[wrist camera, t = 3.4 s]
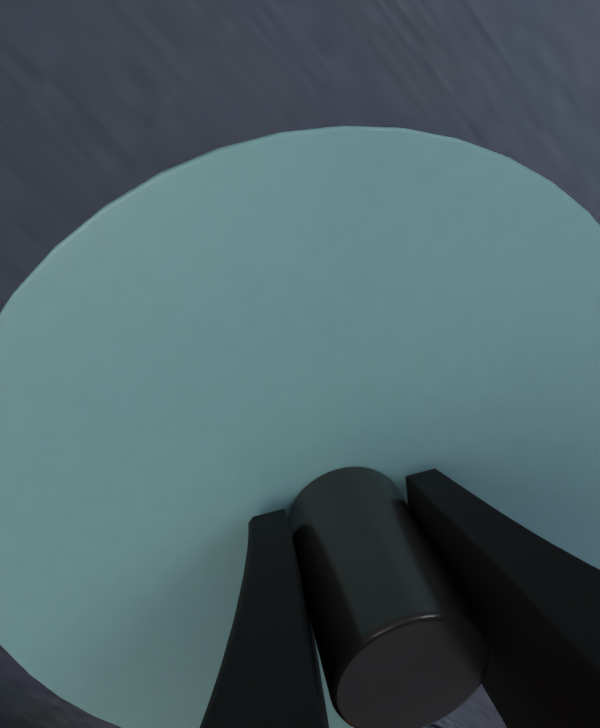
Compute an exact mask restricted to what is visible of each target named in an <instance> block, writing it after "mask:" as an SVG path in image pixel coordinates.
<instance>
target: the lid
mask: <svg viewBox="0 0 600 728" xmlns="http://www.w3.org/2000/svg"><path fill="white" fill-rule="evenodd" d="M434 468H435V469H437V470H438V471H440V472H441V473H443V474H444V475H446V476H447V477H449V478H450V479H452V480H453V481H455V482H456V483H458V484H459V485H461V486H462V487H464V488H465V489H467V490H468V491H470V492H471V493H472V494H474V495H475V496H477V497H478V498H480V499H481V500H483V501H484V502H486V503H487V504H489V505H491V506H492V507H494V508H495V509H497V510H498V511H500V512H501V513H503V514H504V515H506V516H508V517H509V518H511V519H512V520H514V521H516V522H517V523H519V524H520V525H522V526H524V527H525V528H527V529H528V530H530V531H532V532H533V533H535V534H537V535H538V536H540V537H542V538H543V539H545V540H547V541H548V542H550V543H552V544H554V545H555V546H557V547H559V548H561V549H563V550H564V551H566V552H568V553H570V554H572V555H573V556H575V557H577V558H579V559H581V560H582V561H584V562H586V563H588V564H590V565H592V566H594V567H596V568H598V569H600V225H599V224H598V223H597V222H596V221H595V219H594V218H593V217H592V216H591V215H590V214H589V212H588V211H587V210H586V209H584V208H583V207H582V206H581V205H579V204H578V203H577V202H576V201H575V200H573V199H572V198H571V197H570V196H568V195H567V194H566V193H565V192H564V191H562V190H561V189H560V188H559V187H557V186H556V185H555V184H554V183H553V182H551V181H550V180H548V179H546V178H544V177H543V176H541V175H539V174H537V173H536V172H534V171H532V170H530V169H529V168H527V167H525V166H523V165H522V164H520V163H518V162H516V161H515V160H513V159H511V158H509V157H507V156H504V155H502V154H499V153H496V152H494V151H491V150H488V149H485V148H483V147H480V146H477V145H474V144H472V143H469V142H466V141H464V140H461V139H458V138H453V137H448V136H442V135H437V134H432V133H427V132H422V131H417V130H412V129H406V128H395V127H369V126H333V127H324V128H314V129H305V130H296V131H287V132H278V133H274V134H270V135H266V136H262V137H258V138H255V139H251V140H247V141H243V142H239V143H235V144H231V145H228V146H224V147H220V148H217V149H214V150H212V151H210V152H207V153H205V154H202V155H200V156H198V157H195V158H193V159H190V160H188V161H186V162H183V163H181V164H179V165H176V166H174V167H171V168H169V169H167V170H164V171H162V172H160V173H158V174H156V175H155V176H153V177H151V178H150V179H148V180H146V181H145V182H143V183H141V184H140V185H138V186H136V187H135V188H133V189H131V190H130V191H128V192H126V193H125V194H123V195H121V196H120V197H118V198H116V199H115V200H113V201H111V202H110V203H108V204H107V205H105V206H104V207H103V208H102V209H100V210H99V211H98V212H97V213H96V214H94V215H93V216H92V217H91V218H89V219H88V220H87V221H86V222H85V223H83V224H82V225H81V226H80V227H78V228H77V229H76V230H75V231H74V232H72V233H71V234H70V235H69V236H67V237H66V238H65V239H64V240H63V241H61V242H60V243H59V244H58V245H56V246H55V247H54V248H53V249H52V250H51V251H50V253H49V254H48V255H47V256H46V257H45V258H44V259H43V260H42V261H41V262H40V264H39V265H38V266H37V267H36V268H35V269H34V270H33V271H32V272H31V274H30V275H29V276H28V277H27V278H26V279H25V280H24V281H23V282H22V284H21V285H20V286H19V287H18V288H17V289H16V290H15V291H14V292H13V294H12V295H11V297H10V298H9V300H8V301H7V303H6V304H5V306H4V308H3V309H2V311H1V312H0V645H1V646H2V647H3V648H4V649H5V650H6V651H7V652H8V653H9V654H10V655H11V656H12V657H13V658H14V659H15V660H16V661H17V662H18V663H19V664H20V665H21V666H22V667H23V668H24V669H25V670H26V671H27V672H28V673H29V674H30V675H31V676H32V677H34V678H35V679H36V680H38V681H39V682H40V683H42V684H43V685H44V686H46V687H47V688H48V689H50V690H51V691H52V692H54V693H55V694H56V695H58V696H59V697H61V698H62V699H64V700H66V701H68V702H69V703H71V704H73V705H75V706H77V707H78V708H80V709H82V710H84V711H85V712H87V713H89V714H91V715H93V716H95V717H97V718H100V719H102V720H105V721H107V722H110V723H112V724H114V725H117V726H119V727H122V728H200V725H201V722H202V720H203V717H204V714H205V711H206V709H207V706H208V703H209V700H210V697H211V694H212V691H213V688H214V685H215V682H216V679H217V676H218V673H219V670H220V667H221V663H222V660H223V656H224V653H225V649H226V645H227V642H228V638H229V635H230V631H231V628H232V624H233V620H234V616H235V612H236V607H237V603H238V598H239V593H240V589H241V584H242V579H243V574H244V567H245V561H246V554H247V545H248V523H249V521H250V520H251V519H252V517H254V516H258V515H262V514H265V513H269V512H273V511H277V510H280V509H285V512H286V516H287V519H288V523H289V526H290V530H291V534H292V538H293V542H294V547H295V551H296V556H297V560H298V565H299V569H300V574H301V578H302V584H303V590H304V595H305V601H306V606H307V609H308V613H309V617H310V621H311V625H312V629H313V633H314V637H315V642H316V648H317V654H318V661H319V667H320V673H321V679H322V686H323V692H324V698H325V704H326V711H327V717H328V723H329V728H421V727H424V726H427V725H429V724H432V723H434V722H436V721H438V720H440V719H442V718H443V717H445V716H447V715H448V714H450V713H452V712H453V711H455V710H456V709H457V708H458V707H460V706H461V705H462V704H463V703H464V702H465V701H467V700H468V699H469V698H470V697H471V695H472V694H473V693H474V692H475V691H476V690H477V688H478V687H479V685H480V684H481V682H482V681H483V679H484V677H485V675H486V672H487V670H488V666H489V662H490V649H489V642H488V639H487V636H486V634H485V633H484V631H483V629H482V627H481V626H480V624H479V622H478V621H477V619H476V617H475V616H474V614H473V613H472V611H471V609H470V608H469V606H468V604H467V603H466V601H465V599H464V598H463V596H462V594H461V593H460V591H459V589H458V588H457V586H456V584H455V583H454V581H453V579H452V578H451V576H450V574H449V573H448V571H447V569H446V568H445V566H444V564H443V563H442V561H441V559H440V558H439V556H438V554H437V553H436V551H435V549H434V548H433V546H432V545H431V543H430V541H429V540H428V538H427V536H426V535H425V533H424V531H423V530H422V528H421V526H420V525H419V523H418V521H417V520H416V518H415V516H414V515H413V513H412V511H411V510H410V508H409V506H408V499H407V489H406V479H405V476H408V475H412V474H416V473H419V472H423V471H427V470H431V469H434Z"/></svg>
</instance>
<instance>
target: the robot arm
mask: <svg viewBox="0 0 600 728" xmlns="http://www.w3.org/2000/svg"><path fill="white" fill-rule="evenodd" d="M405 479H406V489H407V499H408V506H409V508H410V510H411V511H412V513H413V515H414V516H415V518H416V520H417V521H418V523H419V525H420V526H421V528H422V530H423V531H424V533H425V535H426V536H427V538H428V540H429V541H430V543H431V545H432V546H433V548H434V549H435V551H436V553H437V554H438V556H439V558H440V559H441V561H442V563H443V564H444V566H445V568H446V569H447V571H448V573H449V574H450V576H451V578H452V579H453V581H454V583H455V584H456V586H457V588H458V589H459V591H460V593H461V594H462V596H463V598H464V599H465V601H466V603H467V604H468V606H469V608H470V609H471V611H472V613H473V614H474V616H475V617H476V619H477V621H478V622H479V624H480V626H481V627H482V629H483V631H484V633H485V634H486V636H487V639H488V642H489V649H490V662H489V666H488V670H487V672H486V675H485V677H484V679H483V681H482V682H481V684H482V685H483V687H484V689H485V690H486V692H487V694H488V696H489V697H490V699H491V701H492V702H493V704H494V706H495V707H496V709H497V711H498V712H499V714H500V716H501V718H502V719H503V721H504V723H505V725H506V727H507V728H600V569H598V568H596V567H594V566H592V565H590V564H588V563H586V562H584V561H582V560H581V559H579V558H577V557H575V556H573V555H572V554H570V553H568V552H566V551H564V550H563V549H561V548H559V547H557V546H555V545H554V544H552V543H550V542H548V541H547V540H545V539H543V538H542V537H540V536H538V535H537V534H535V533H533V532H532V531H530V530H528V529H527V528H525V527H524V526H522V525H520V524H519V523H517V522H516V521H514V520H512V519H511V518H509V517H508V516H506V515H504V514H503V513H501V512H500V511H498V510H497V509H495V508H494V507H492V506H491V505H489V504H487V503H486V502H484V501H483V500H481V499H480V498H478V497H477V496H475V495H474V494H472V493H471V492H470V491H468V490H467V489H465V488H464V487H462V486H461V485H459V484H458V483H456V482H455V481H453V480H452V479H450V478H449V477H447V476H446V475H444V474H443V473H441V472H440V471H438V470H437V469H435V468H434V469H431V470H427V471H423V472H419V473H416V474H412V475H408V476H405ZM200 728H329V723H328V717H327V711H326V704H325V698H324V692H323V686H322V679H321V673H320V667H319V661H318V654H317V648H316V642H315V637H314V633H313V629H312V625H311V621H310V617H309V613H308V609H307V606H306V601H305V595H304V590H303V584H302V578H301V574H300V569H299V565H298V560H297V556H296V551H295V547H294V542H293V538H292V534H291V530H290V526H289V523H288V519H287V516H286V512H285V509H280V510H277V511H273V512H269V513H265V514H262V515H258V516H254V517H252V519H251V520H250V521H249V523H248V545H247V554H246V561H245V567H244V574H243V579H242V584H241V589H240V593H239V598H238V603H237V607H236V612H235V616H234V620H233V624H232V628H231V631H230V635H229V638H228V642H227V645H226V649H225V653H224V656H223V660H222V663H221V667H220V670H219V673H218V676H217V679H216V682H215V685H214V688H213V691H212V694H211V697H210V700H209V703H208V706H207V709H206V711H205V714H204V717H203V720H202V722H201V725H200Z"/></svg>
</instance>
